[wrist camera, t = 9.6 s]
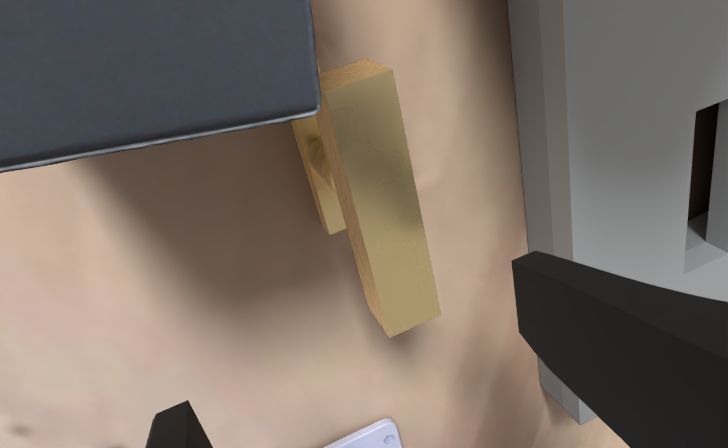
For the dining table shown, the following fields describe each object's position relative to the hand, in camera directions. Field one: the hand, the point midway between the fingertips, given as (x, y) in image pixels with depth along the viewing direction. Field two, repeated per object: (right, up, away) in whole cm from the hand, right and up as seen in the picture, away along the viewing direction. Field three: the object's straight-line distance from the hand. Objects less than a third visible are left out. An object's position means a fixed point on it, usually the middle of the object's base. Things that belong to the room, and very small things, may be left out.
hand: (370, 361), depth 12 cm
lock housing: (+13, +5, +14) cm, 20 cm away
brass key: (-2, +6, +8) cm, 10 cm away
